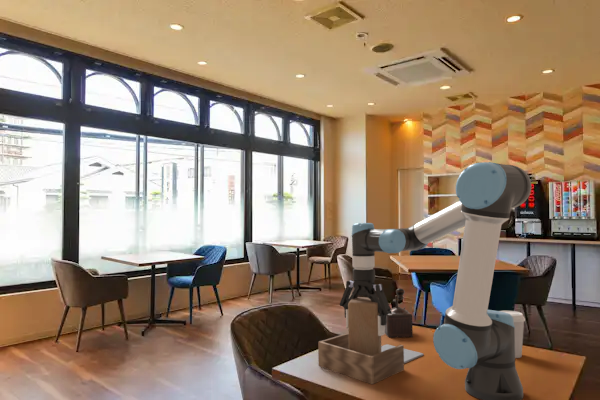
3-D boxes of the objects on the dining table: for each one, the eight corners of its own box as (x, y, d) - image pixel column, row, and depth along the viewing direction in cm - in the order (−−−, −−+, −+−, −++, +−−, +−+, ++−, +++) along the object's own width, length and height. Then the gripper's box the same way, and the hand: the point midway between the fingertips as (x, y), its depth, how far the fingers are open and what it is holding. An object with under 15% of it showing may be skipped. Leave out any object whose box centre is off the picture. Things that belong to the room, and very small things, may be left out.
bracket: (404, 369, 139) (403, 345, 140) (372, 384, 128) (371, 357, 128) (351, 354, 156) (350, 332, 156) (318, 365, 144) (318, 341, 145)
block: (379, 365, 138) (378, 303, 138) (348, 363, 140) (347, 301, 141) (381, 355, 147) (380, 297, 148) (352, 353, 150) (352, 296, 151)
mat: (423, 355, 154) (423, 353, 154) (403, 364, 145) (403, 362, 145) (386, 345, 166) (386, 344, 166) (365, 353, 157) (365, 351, 157)
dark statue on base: (415, 337, 176) (414, 293, 177) (388, 338, 176) (387, 294, 177) (404, 327, 192) (403, 287, 193) (380, 328, 191) (379, 287, 192)
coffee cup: (500, 358, 149) (498, 315, 150) (494, 350, 159) (493, 309, 159) (529, 360, 147) (528, 316, 148) (522, 351, 157) (521, 310, 157)
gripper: (401, 270, 138) (402, 336, 138) (343, 264, 156) (344, 322, 156) (387, 272, 133) (389, 341, 132) (329, 266, 151) (330, 326, 150)
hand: (364, 331), depth 144 cm, fingers closed on block, 13 cm apart
